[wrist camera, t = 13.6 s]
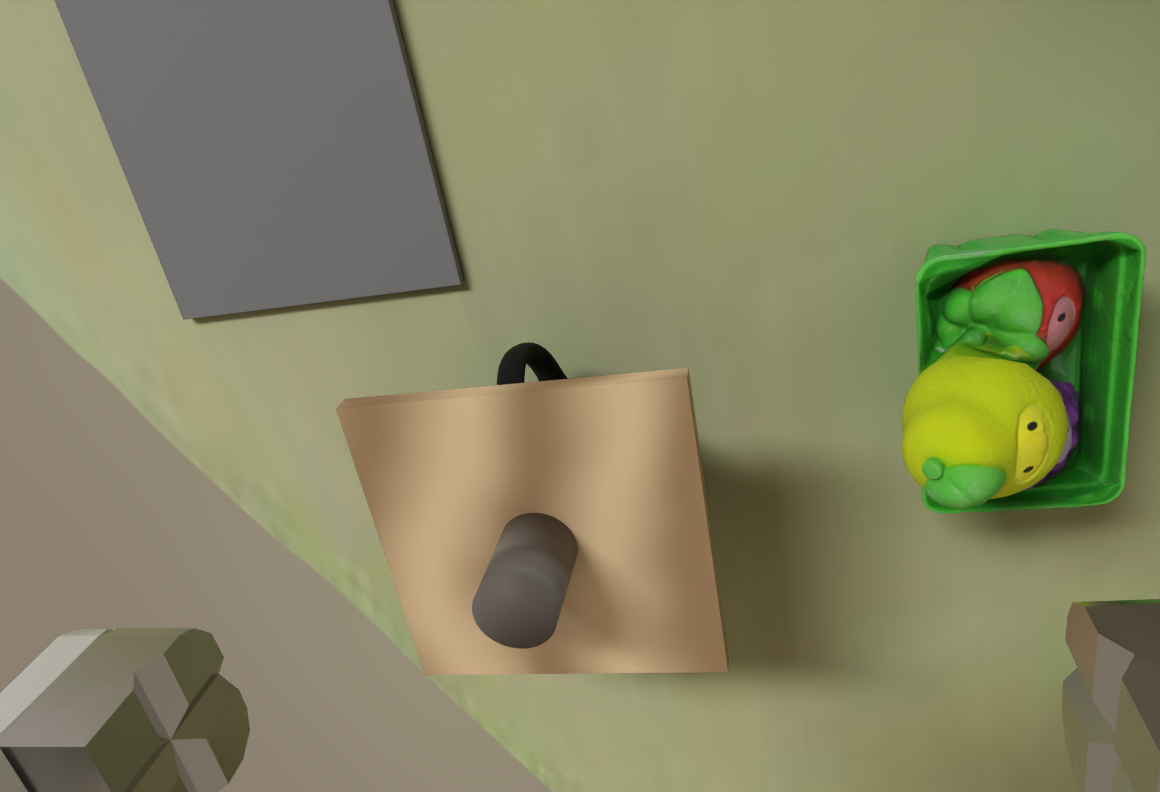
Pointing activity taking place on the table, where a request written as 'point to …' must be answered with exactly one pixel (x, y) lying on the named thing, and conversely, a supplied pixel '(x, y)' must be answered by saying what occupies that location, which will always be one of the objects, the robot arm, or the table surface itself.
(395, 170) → the mat
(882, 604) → the table surface
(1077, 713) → the robot arm
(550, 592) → the lid
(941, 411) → the fruit basket
